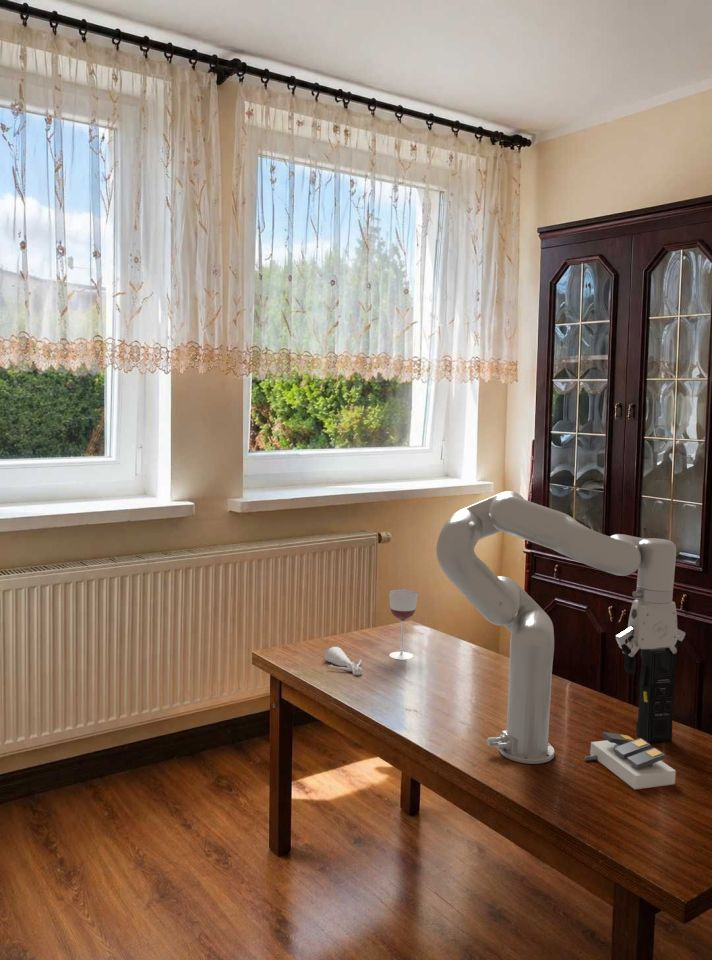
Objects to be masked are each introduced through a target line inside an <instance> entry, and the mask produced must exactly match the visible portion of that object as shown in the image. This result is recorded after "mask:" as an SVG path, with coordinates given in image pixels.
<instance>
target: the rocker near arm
mask: <svg viewBox="0 0 712 960" xmlns="http://www.w3.org/2000/svg"><path fill="white" fill-rule="evenodd" d="M601 737H602V738H604V739H605V741H606V740H608V741H609V742H610V743H615V744H617V745H618V746H620V745H623V744H625V743H628V742H631V741H634V740H635V739H634V738H632V737H631V736H629V735H627V734H621V733H613V732H606V731H602V733H601Z"/></svg>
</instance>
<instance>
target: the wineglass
mask: <svg viewBox="0 0 712 960" xmlns="http://www.w3.org/2000/svg"><path fill="white" fill-rule="evenodd" d="M418 594H419V593H418V591H415V590H412V589H406V588H403V589H402V588H401V589H399V588H398V589H393V590H390V591H389V596H388V597H389V598H388V599H389V605H390V612H391V614H392V616H394V618H397V619H398V620H400V621H401V622H400V623H401V624H400V625H401V626H400V651H394V652H390V653H389V657H390V658H392V659H396V660H401V661H402V660H411V659H413V658H415V657H414V654H413V653H411V652H408V651H407V652H406V651H404V633H405V632H404V629H405V628H404V627H405V621H406V620H407V619H409V618H412V617H413V615H414V614H415V612H416V608H417V603H418V596H419V595H418Z"/></svg>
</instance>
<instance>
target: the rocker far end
mask: <svg viewBox="0 0 712 960" xmlns="http://www.w3.org/2000/svg"><path fill="white" fill-rule="evenodd" d="M627 759H628V762H629V763H630V764H632V765H633V766H634V767H636V768H637V769H639V768H642V767H645V766H649V767H652V766H653V763H655V762H658V761H663V760H666V754H665V753H664V752H662V751H661V750H659V749H658V748H656V747H651V749H649V750H646V751H643V752H641V753H638V754H635V755H633V756H630V757H627Z"/></svg>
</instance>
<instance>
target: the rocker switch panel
mask: <svg viewBox="0 0 712 960" xmlns="http://www.w3.org/2000/svg"><path fill="white" fill-rule="evenodd" d="M617 746H618V745H617V744H615V743H610V742H609V741H608V740H606V739H605V740H599V741H591V742H590V751H589V753H590V755H586V756H584V761H587V762H588V761H596V760H597V761H598V762H599V763H600V764H601V765H603V766H604V767H606V769H608V770H609V771H611V772H612V773H613V774H614V775H616V777H618V778H620V779H621V780H622V781H623V782H624V783H626V784H627V785H628V786H630V788H632V789H634V790H641V789H649V788H655V787H662V786H672V785H675V784H676V774H677V771H676V769H674V768H673V767H671V766H669V765H668V764H667V763H665V762H664V761H663V760H661V761H658V762H655V763H653V766H652V767H649V766H645V767H642V768H639V769H637V768H636V767H634V766H633V765H632V764H630V763H629V762H628V759H627V758H625V759H624V758H622V757H621V756H619V755H618V754H617V753H615V752H614V747H617Z"/></svg>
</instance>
